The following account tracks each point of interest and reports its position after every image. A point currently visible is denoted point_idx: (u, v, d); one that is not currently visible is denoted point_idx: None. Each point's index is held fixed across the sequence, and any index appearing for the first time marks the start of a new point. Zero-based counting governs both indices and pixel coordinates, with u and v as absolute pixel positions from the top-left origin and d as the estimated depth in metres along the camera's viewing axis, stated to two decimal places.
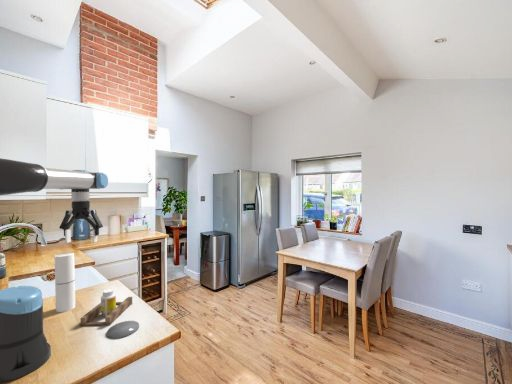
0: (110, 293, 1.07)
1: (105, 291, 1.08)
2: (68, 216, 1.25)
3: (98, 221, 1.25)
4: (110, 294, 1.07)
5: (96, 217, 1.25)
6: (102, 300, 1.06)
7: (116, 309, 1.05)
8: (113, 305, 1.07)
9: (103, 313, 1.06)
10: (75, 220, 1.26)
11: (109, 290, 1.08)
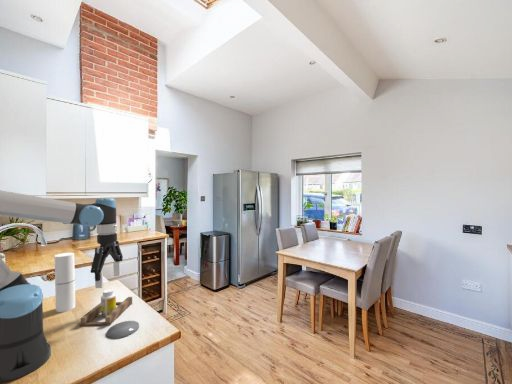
0: (110, 293, 1.07)
1: (105, 291, 1.08)
2: (114, 247, 1.14)
3: (94, 264, 0.99)
4: (110, 294, 1.07)
5: (96, 258, 1.00)
6: (102, 300, 1.06)
7: (116, 309, 1.05)
8: (113, 305, 1.07)
9: (103, 313, 1.06)
10: (115, 254, 1.12)
11: (109, 290, 1.08)
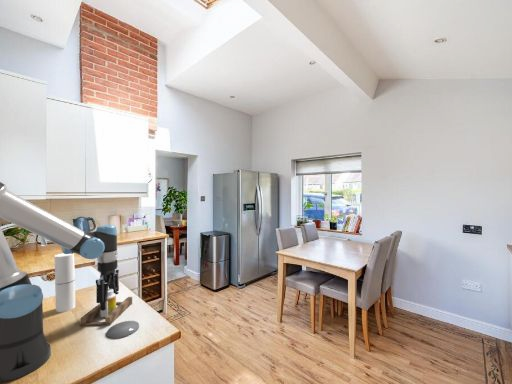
0: (110, 293, 1.07)
1: None
2: None
3: (98, 295, 1.02)
4: (110, 294, 1.07)
5: (98, 289, 1.02)
6: None
7: (116, 309, 1.05)
8: (113, 305, 1.07)
9: None
10: (113, 283, 1.10)
11: (109, 290, 1.08)
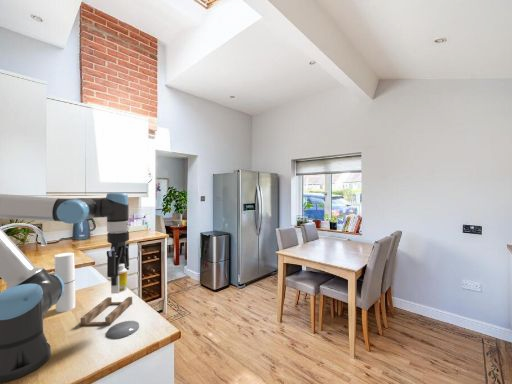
0: (121, 267, 0.97)
1: None
2: None
3: (109, 268, 0.91)
4: (121, 268, 0.97)
5: (110, 262, 0.92)
6: None
7: (116, 309, 1.05)
8: (125, 281, 0.97)
9: None
10: (124, 257, 1.00)
11: (120, 264, 0.98)
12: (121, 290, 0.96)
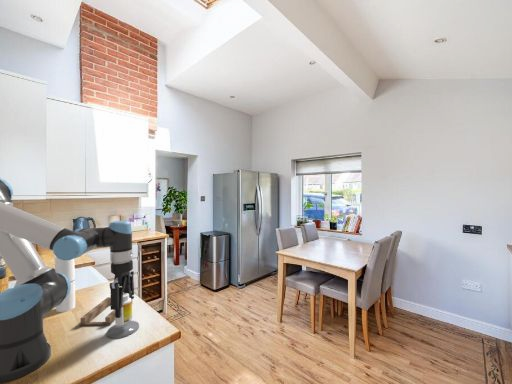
0: (126, 298, 0.94)
1: None
2: None
3: (113, 301, 0.89)
4: (126, 299, 0.94)
5: (113, 294, 0.89)
6: None
7: None
8: (129, 311, 0.95)
9: None
10: (128, 286, 0.97)
11: (124, 294, 0.96)
12: (125, 321, 0.93)
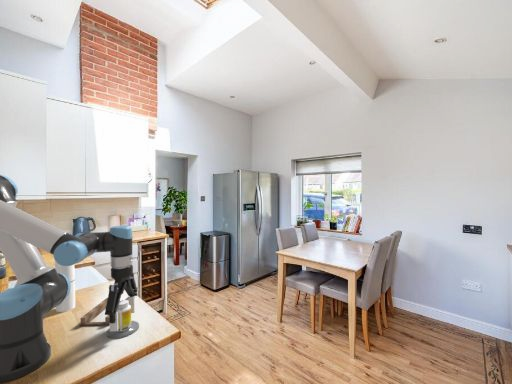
0: (125, 305, 0.94)
1: (119, 302, 0.95)
2: None
3: (109, 304, 0.87)
4: (125, 306, 0.94)
5: (110, 297, 0.88)
6: None
7: None
8: (128, 319, 0.95)
9: None
10: (130, 288, 0.99)
11: (124, 301, 0.96)
12: (125, 329, 0.93)
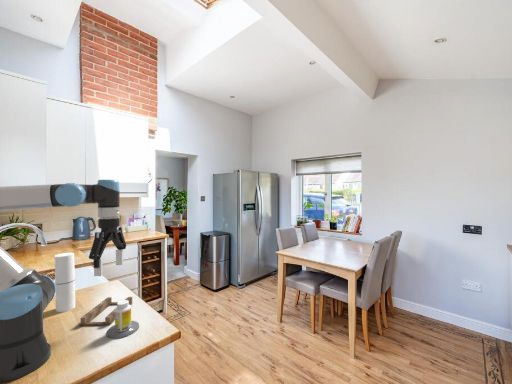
0: (125, 305, 0.94)
1: (119, 302, 0.95)
2: (117, 234, 1.06)
3: (93, 249, 0.91)
4: (125, 306, 0.94)
5: (95, 243, 0.92)
6: (116, 313, 0.93)
7: None
8: (128, 319, 0.95)
9: (117, 328, 0.93)
10: (117, 240, 1.03)
11: (124, 301, 0.96)
12: (125, 329, 0.93)
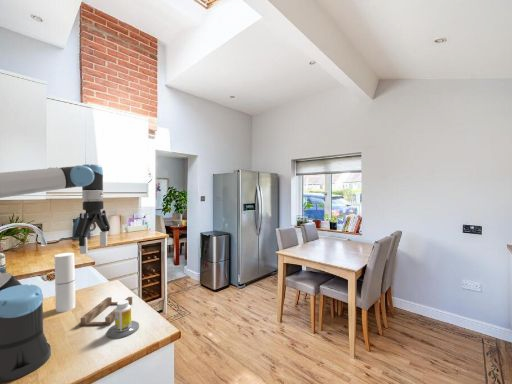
0: (125, 305, 0.94)
1: (119, 302, 0.95)
2: (101, 217, 1.13)
3: (78, 228, 0.98)
4: (125, 306, 0.94)
5: (80, 223, 0.99)
6: (116, 313, 0.93)
7: None
8: (128, 319, 0.95)
9: (117, 328, 0.93)
10: (101, 222, 1.10)
11: (124, 301, 0.96)
12: (125, 329, 0.93)
